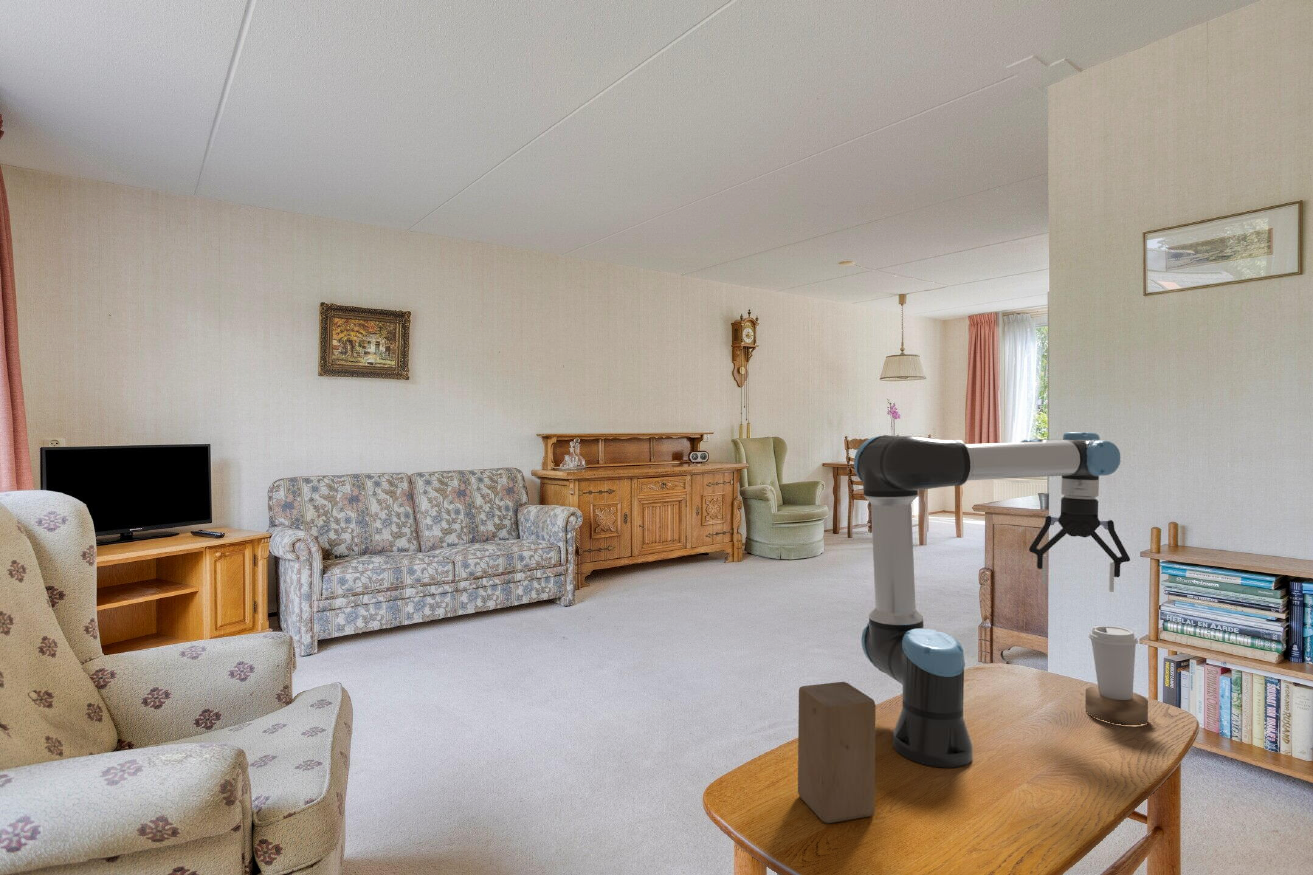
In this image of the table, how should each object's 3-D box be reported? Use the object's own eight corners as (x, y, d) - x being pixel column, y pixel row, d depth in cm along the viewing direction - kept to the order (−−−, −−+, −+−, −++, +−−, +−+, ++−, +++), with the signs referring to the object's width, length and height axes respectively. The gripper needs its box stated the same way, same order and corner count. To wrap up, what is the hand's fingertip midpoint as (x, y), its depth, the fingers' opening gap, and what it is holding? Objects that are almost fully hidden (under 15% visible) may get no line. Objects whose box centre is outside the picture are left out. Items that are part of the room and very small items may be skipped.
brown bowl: (1086, 720, 155) (1086, 699, 155) (1084, 703, 166) (1084, 682, 166) (1151, 732, 149) (1151, 710, 149) (1144, 713, 160) (1144, 692, 160)
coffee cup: (1100, 684, 164) (1097, 622, 164) (1146, 694, 157) (1143, 629, 157) (1084, 694, 158) (1081, 630, 159) (1132, 706, 151) (1129, 638, 151)
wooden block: (824, 826, 112) (825, 705, 112) (795, 795, 122) (796, 684, 122) (877, 817, 115) (878, 699, 115) (844, 787, 125) (845, 679, 124)
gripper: (1019, 494, 164) (1016, 582, 164) (1145, 502, 151) (1143, 597, 151) (1020, 492, 171) (1018, 577, 171) (1142, 500, 158) (1139, 591, 158)
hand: (1076, 586), depth 161 cm, fingers open, 13 cm apart
